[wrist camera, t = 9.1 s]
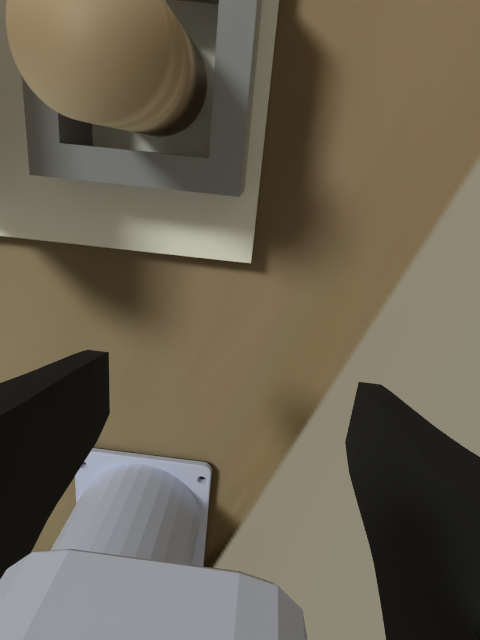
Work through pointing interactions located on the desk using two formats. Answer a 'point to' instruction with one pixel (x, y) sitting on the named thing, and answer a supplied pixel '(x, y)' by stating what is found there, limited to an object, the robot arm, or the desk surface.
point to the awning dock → (148, 152)
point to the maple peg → (109, 62)
